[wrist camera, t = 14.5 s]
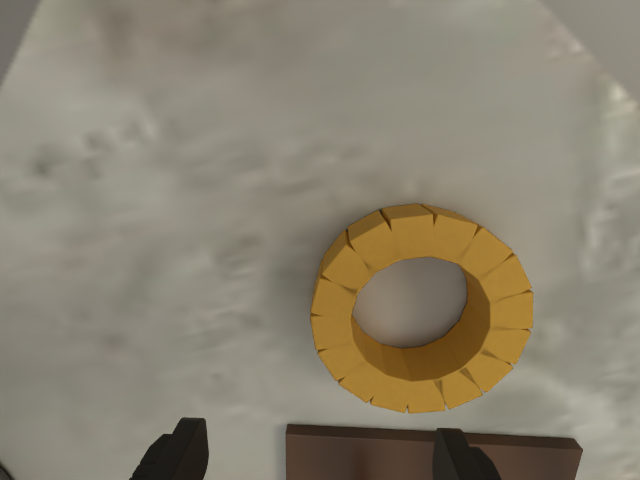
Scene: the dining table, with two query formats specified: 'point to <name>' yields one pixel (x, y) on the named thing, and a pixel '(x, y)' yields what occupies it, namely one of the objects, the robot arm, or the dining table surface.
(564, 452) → the rack
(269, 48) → the dining table surface
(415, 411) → the yellow segmented ring
